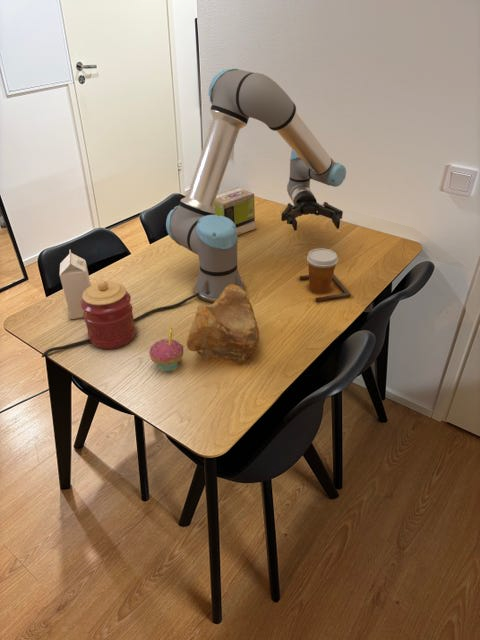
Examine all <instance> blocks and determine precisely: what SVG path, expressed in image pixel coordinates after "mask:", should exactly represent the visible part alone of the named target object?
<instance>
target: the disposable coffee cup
mask: <svg viewBox="0 0 480 640" xmlns="http://www.w3.org/2000/svg"><path fill="white" fill-rule="evenodd" d="M306 261H307V266H308V267H307V268H308V275H309V279H308V283H309V290H310V291H311V292H313V293H315V294H326V293H328V292H330V288H331V284H332V281H333V280H332V277H333V274H334V273H335V269H336V265H337V263H338V262H339V257H338V254H337V253H336V252H335V251H334V250H332V249H329V248H320V247H319V248H314V249H311V250H309V252H308V254H307V256H306Z"/></svg>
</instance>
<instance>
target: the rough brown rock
mask: <svg viewBox="0 0 480 640" xmlns="http://www.w3.org/2000/svg"><path fill="white" fill-rule="evenodd" d="M248 296H249V295H248V294H247V292H246V291H245V290H244V288H243V289H241V288H240V287H239V286H237V285H234V284H231V285H228V286H227V287H226V288H225V289H224V291H223V292H222V293H221V295H220V297H219V298H218V299H217V300H216V301H215V302H214V303H211V304H209V305H207V304H204V303H203V304H202V303H201V304H200V305H199V306H197V309H196V311H195V315H194V317H193V321H192V324H191V326H190V329H189V332H188V335H187V338H186V347H187V350H189V351H190V352H196V353H197V354H198V356H199V357H200V358H201V359H202V360H204V359H206V360H209V359H211V358H212V357H214V358H215V357H216V358H218V359H222V360H229V361H232V362H233V363H238V364H241V363H244V362H245V361H246V360H248V358H249V356H251V354H252V353H253V352H254V351H255V350H256V349H257V346H258V344H259V340H260V331H259V326H258V322H257V318H256V315H255V312H254V309H253V306H252V304H251V303H252V302H250V298H249V297H248Z"/></svg>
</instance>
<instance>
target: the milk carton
mask: <svg viewBox="0 0 480 640" xmlns="http://www.w3.org/2000/svg"><path fill="white" fill-rule="evenodd" d="M59 279H60V283H61V286H62V290H63V294H64V298H65V302H66V305H67V309H68V313H69V318H70V320H75V319H80V318H81V319H83V318H84V317H83V312H84V310H83V309H82V307H81V301H82V299H83V298H82V294H83V292H84V291H85V290H86V289H87V288H88V287H90V286H91V285H92V283H91V280H90V279H91V278H90V274H89V270H88V265H87V261H86V260H85V258H82V257H80V256H78V255H77V254H74V253H73V252H72V251H71V249H69V253H68V255H66V257H65V258H64V259H63V260H62V261H61V262H60V264H59Z"/></svg>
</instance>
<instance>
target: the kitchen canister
mask: <svg viewBox="0 0 480 640" xmlns="http://www.w3.org/2000/svg"><path fill="white" fill-rule="evenodd" d="M82 298H83V299H82V301H81V307H82V309H83V310H84V312H83V317H82V318H83V319H84V321H85V326H86V330H87V337H88V339H90V343H91V344H92V345H93V346H94V347H95V348H99V349H103V350H112V349H118V348H121V347H124V346H126V345H128V344H130V342H132V341H133V340H134V338H135V336H136V332H137V331H136V330H137V327H136V323H135V322H134V319H135V318H134V312H133V304H132V303H131V301H132V300H131V299H132V297H131V294H130V293H129V291H127V288H126V286H125V285H123V284H122V283H120V282H117V281H113V280H104V279H103V280H99V281H98V282H95V283H93V284H91V286H90V287H88V288H87V289H86V290H85V291H84V292H83V294H82Z"/></svg>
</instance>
